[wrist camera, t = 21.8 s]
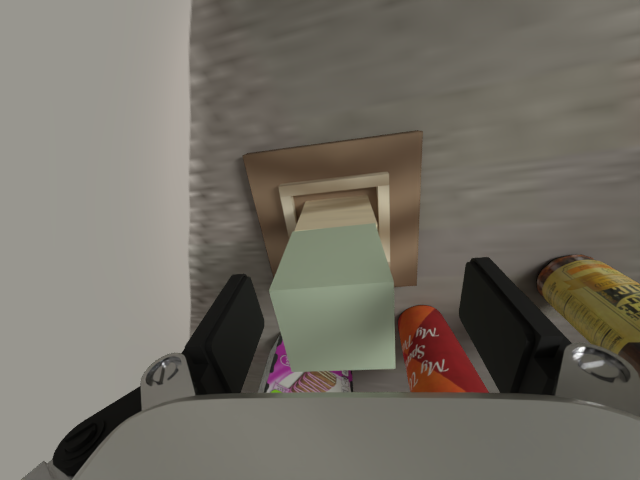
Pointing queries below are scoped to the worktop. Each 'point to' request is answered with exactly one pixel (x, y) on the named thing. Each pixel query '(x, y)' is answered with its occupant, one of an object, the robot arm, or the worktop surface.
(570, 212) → the worktop surface
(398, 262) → the base plate
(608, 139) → the worktop surface
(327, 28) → the worktop surface
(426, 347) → the paper cup
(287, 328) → the sage block
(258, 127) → the worktop surface
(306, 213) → the maple block
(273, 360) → the candy bar box
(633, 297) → the sauce bottle
